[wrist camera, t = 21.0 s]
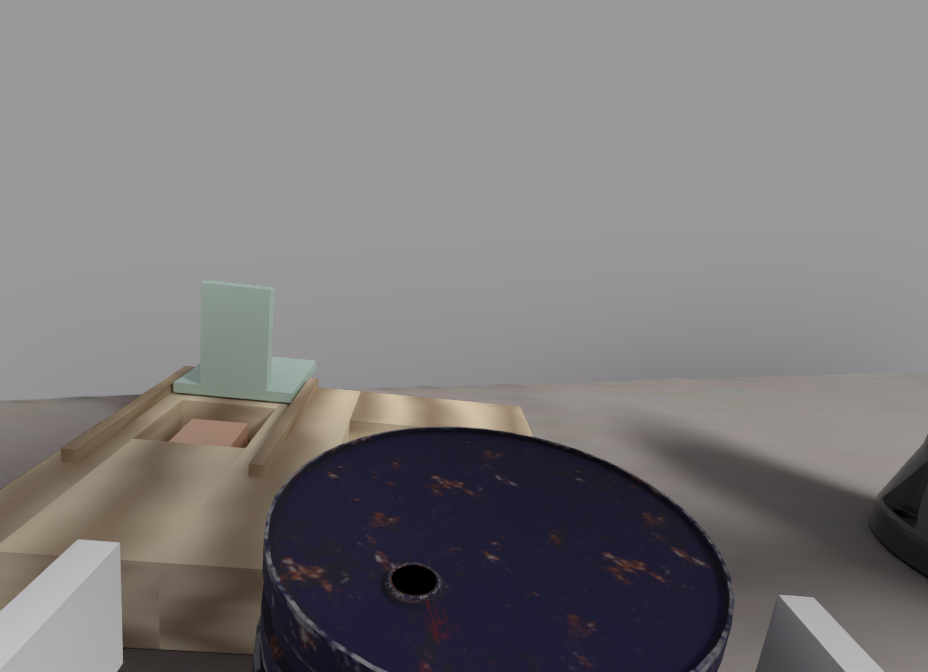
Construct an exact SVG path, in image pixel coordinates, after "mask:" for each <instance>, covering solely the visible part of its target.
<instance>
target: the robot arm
mask: <svg viewBox="0 0 928 672" xmlns="http://www.w3.org/2000/svg"><path fill="white" fill-rule="evenodd" d="M869 522H870V526H871V529H872V530H873V532H874V534H875V535H876V536H877V537H878V539H879V540H880V541H881V542H882V543H883V544H884V545H885V546H886V547H887V548H889V549H890V550H891V551H892V552H893V553H895V554H896V555H897V556H898V557H900V558H901V559H903V560H904V561H905V562H907V563H908V564H910V565H911V566H913V567H914V568H916V569H917V570H919V571H920V572H922V573H924V574H925V575H927V576H928V434H927V437H926V439H925V441H924V443H923V444H922V446H921V447H920V448H919V449H918V450H917V451H916V452H915V453H914V455H913V456H912V457H911V458H910V459H909V460H908V461H907V462H906V463H905V465H904V466H903V467H902V468H901V469H900V470H899V471H898V472H897V474H896V475H895V476H894V477H893V478H892V479H891V480H890V481H889V482H888V484H887V485H886V486H885V487H884V488H883V489H882V490H881V491H880V493H879V494H878V496H877V498H876V501H875V504H874V507H873V510H872V513H871V516H870V519H869ZM122 664H123V642H122V602H121V562H120V543H119V542H107V541H94V540H81V539H78V540H77V541H75V542H74V543H73V544H72V545H71V546H70V547H69V548H68V549H67V550H66V551H65V552H64V553H63V554H61V555H60V556H59V557H58V558H57V559H56V560H55V561H54V562H53V563H52V564H51V565H50V566H49V567H47V568H46V569H45V570H44V571H43V572H42V573H41V574H40V575H39V576H38V577H37V578H36V579H35V580H33V581H32V582H31V583H30V584H29V585H28V586H27V587H26V588H25V589H24V590H23V591H22V592H21V593H19V594H18V595H17V596H16V597H15V598H14V599H13V600H12V601H11V602H10V603H9V604H8V605H7V606H5V607H4V608H3V609H2V610H1V611H0V672H117V671H118V670H119V668H120V667H121V665H122ZM756 672H884V671H883V670H882V669H881V668H880V667H879V666H878V665H877V664H876V663H875V662H874V660H873V659H872V658H871V657H870V656H869V655H868V654H867V653H866V652H865V651H864V650H863V649H862V648H861V647H860V646H859V645H858V644H857V643H856V642H855V640H854V639H853V638H852V637H851V636H850V635H849V634H848V633H847V632H846V631H845V630H844V629H843V628H842V627H841V626H840V625H839V624H838V623H837V622H836V620H835V619H834V618H833V617H832V616H831V615H830V614H829V613H828V612H827V611H826V610H825V609H824V608H823V607H822V606H821V605H820V604H819V603H818V602H817V600H816V599H815V598H814V597H802V596H789V595H778V598H777V602H776V605H775V608H774V612H773V615H772V618H771V622H770V625H769V629H768V632H767V635H766V639H765V642H764V645H763V649H762V652H761V656H760V659H759V662H758V666H757V669H756Z"/></svg>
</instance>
